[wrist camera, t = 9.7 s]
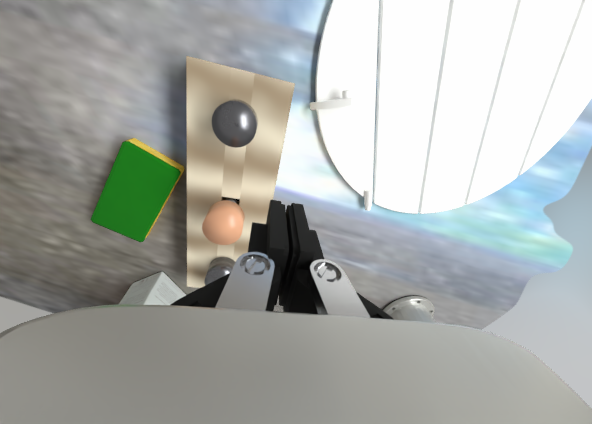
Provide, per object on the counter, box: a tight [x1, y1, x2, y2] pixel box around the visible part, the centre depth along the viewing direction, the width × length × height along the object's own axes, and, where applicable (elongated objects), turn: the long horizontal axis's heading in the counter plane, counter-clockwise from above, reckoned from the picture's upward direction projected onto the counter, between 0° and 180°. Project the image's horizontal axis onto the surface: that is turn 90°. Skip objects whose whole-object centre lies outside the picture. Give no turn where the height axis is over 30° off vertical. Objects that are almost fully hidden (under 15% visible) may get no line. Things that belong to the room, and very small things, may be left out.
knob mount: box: [186, 56, 295, 288], centre depth 33 cm, size 32×11×4 cm, turn 167°
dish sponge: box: [91, 138, 185, 242], centre depth 32 cm, size 7×14×2 cm, turn 143°
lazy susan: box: [310, 0, 592, 214], centre depth 29 cm, size 40×39×3 cm
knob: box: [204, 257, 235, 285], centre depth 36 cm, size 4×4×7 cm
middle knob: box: [202, 198, 245, 245], centre depth 29 cm, size 4×4×7 cm
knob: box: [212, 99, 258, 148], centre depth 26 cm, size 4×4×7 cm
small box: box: [118, 271, 186, 305], centre depth 37 cm, size 8×6×13 cm
